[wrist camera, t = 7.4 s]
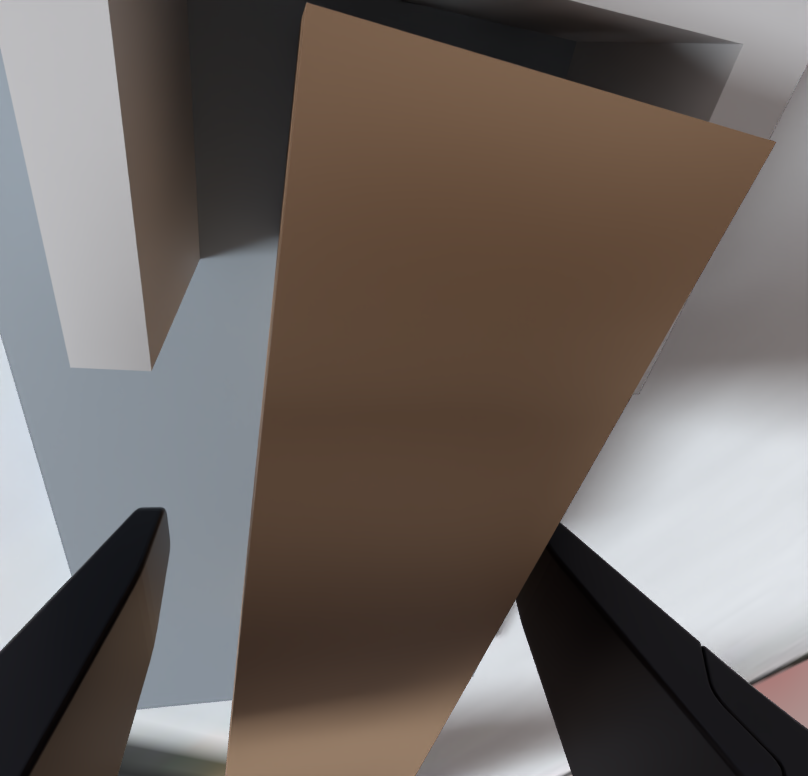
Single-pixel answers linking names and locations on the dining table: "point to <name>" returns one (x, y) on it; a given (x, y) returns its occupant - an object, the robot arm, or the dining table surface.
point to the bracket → (241, 238)
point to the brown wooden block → (443, 368)
